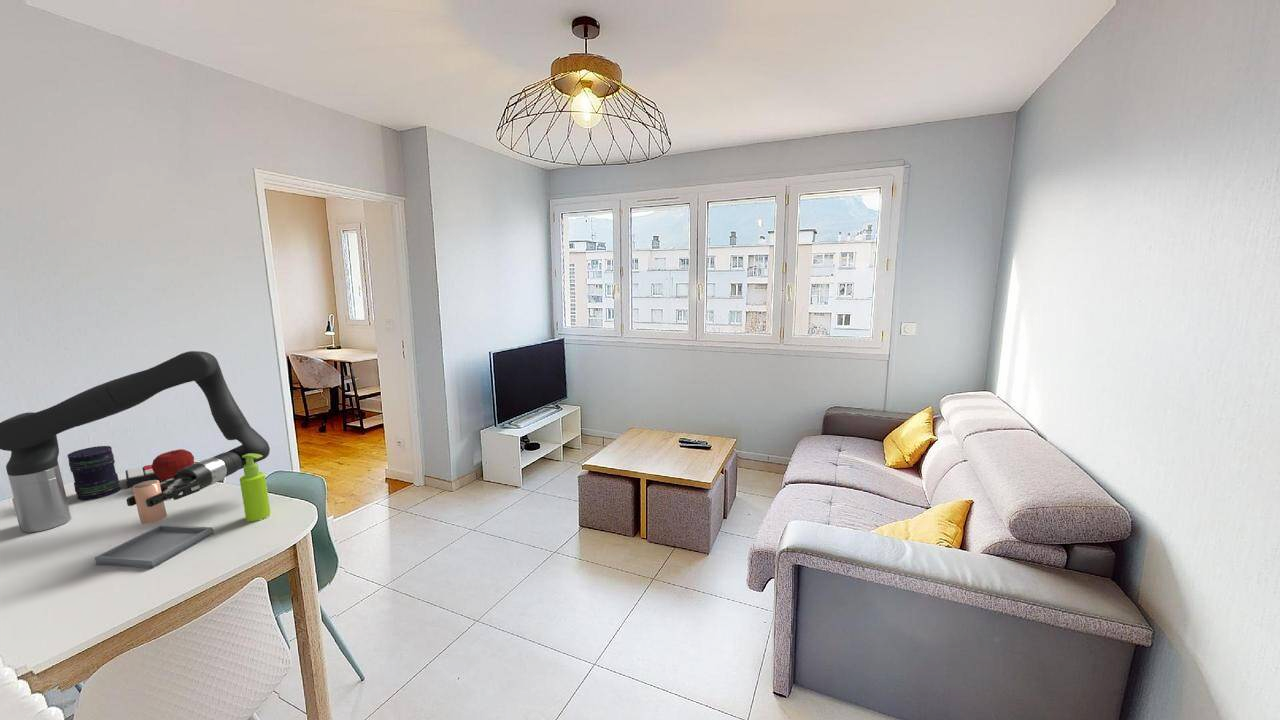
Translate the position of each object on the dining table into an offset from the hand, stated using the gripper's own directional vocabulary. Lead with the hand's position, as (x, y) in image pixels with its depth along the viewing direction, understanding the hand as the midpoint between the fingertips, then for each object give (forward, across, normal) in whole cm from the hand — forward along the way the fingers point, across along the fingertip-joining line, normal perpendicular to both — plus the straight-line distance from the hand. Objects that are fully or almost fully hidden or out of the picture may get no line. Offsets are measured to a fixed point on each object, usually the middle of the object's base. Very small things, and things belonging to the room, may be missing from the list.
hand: (138, 503), depth 126 cm
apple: (-40, -37, +15) cm, 57 cm away
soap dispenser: (-20, +13, +15) cm, 28 cm away
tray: (-2, 0, +14) cm, 15 cm away
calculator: (-43, -48, +15) cm, 66 cm away
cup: (-3, 0, +6) cm, 7 cm away
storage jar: (-29, -53, +14) cm, 63 cm away
